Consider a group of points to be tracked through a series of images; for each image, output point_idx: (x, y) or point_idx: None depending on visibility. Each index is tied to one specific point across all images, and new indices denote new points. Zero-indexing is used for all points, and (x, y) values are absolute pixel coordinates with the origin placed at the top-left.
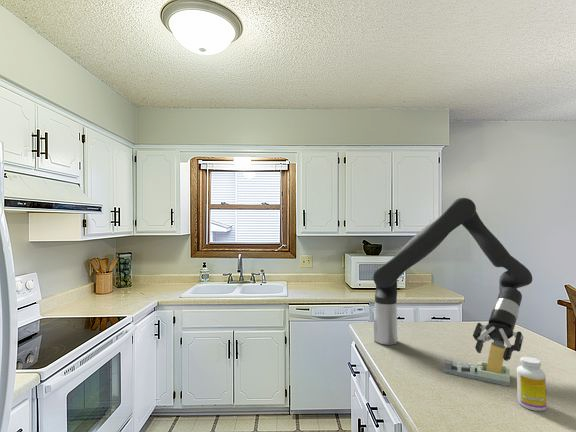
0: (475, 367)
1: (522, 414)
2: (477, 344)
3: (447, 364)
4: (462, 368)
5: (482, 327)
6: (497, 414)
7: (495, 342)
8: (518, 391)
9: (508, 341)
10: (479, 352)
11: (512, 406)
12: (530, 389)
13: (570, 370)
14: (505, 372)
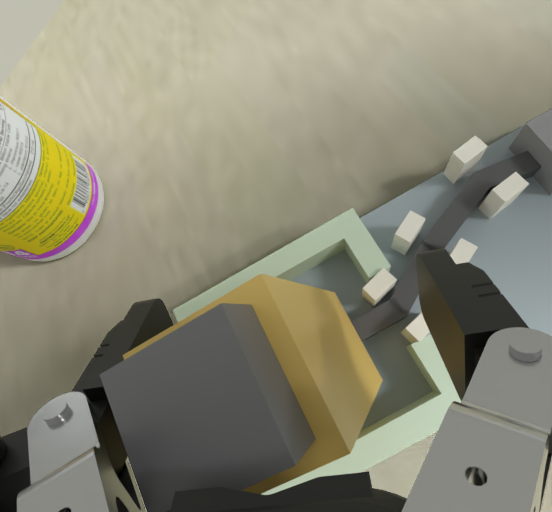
0: None
1: (61, 110)
2: (486, 301)
3: (546, 113)
4: (460, 191)
5: None
6: (119, 30)
7: (204, 315)
8: (52, 136)
9: (41, 476)
10: (418, 287)
11: (107, 130)
12: None
13: None
14: None
